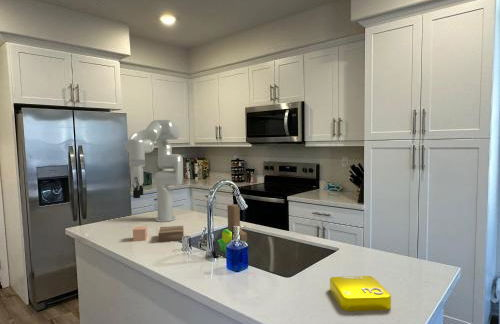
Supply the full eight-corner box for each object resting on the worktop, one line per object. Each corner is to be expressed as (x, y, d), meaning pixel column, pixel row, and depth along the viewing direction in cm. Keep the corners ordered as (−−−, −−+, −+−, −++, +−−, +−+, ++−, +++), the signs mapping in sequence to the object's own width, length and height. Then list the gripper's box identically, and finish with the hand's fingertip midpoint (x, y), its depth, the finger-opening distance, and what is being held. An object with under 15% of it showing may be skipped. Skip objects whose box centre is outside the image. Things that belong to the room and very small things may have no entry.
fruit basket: (246, 252, 143) (246, 227, 142) (232, 258, 136) (231, 232, 136) (229, 247, 151) (228, 223, 150) (215, 252, 144) (214, 227, 143)
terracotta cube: (135, 237, 168) (135, 226, 168) (147, 237, 169) (146, 226, 169) (133, 241, 162) (132, 229, 162) (145, 240, 163) (145, 229, 163)
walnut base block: (160, 236, 171) (160, 227, 171) (183, 234, 174) (183, 225, 173) (158, 243, 159) (158, 233, 159) (183, 241, 162) (182, 231, 161)
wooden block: (247, 241, 158) (246, 205, 157) (241, 244, 155) (240, 207, 153) (234, 238, 164) (233, 203, 163) (227, 240, 160) (227, 205, 159)
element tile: (372, 287, 108) (372, 273, 108) (393, 311, 93) (393, 295, 93) (328, 289, 107) (328, 275, 107) (342, 312, 92) (342, 296, 92)
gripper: (132, 162, 171) (134, 194, 172) (125, 164, 154) (127, 199, 155) (147, 162, 172) (148, 193, 173) (142, 164, 155) (143, 199, 156)
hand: (138, 196), depth 164 cm, fingers open, 9 cm apart
